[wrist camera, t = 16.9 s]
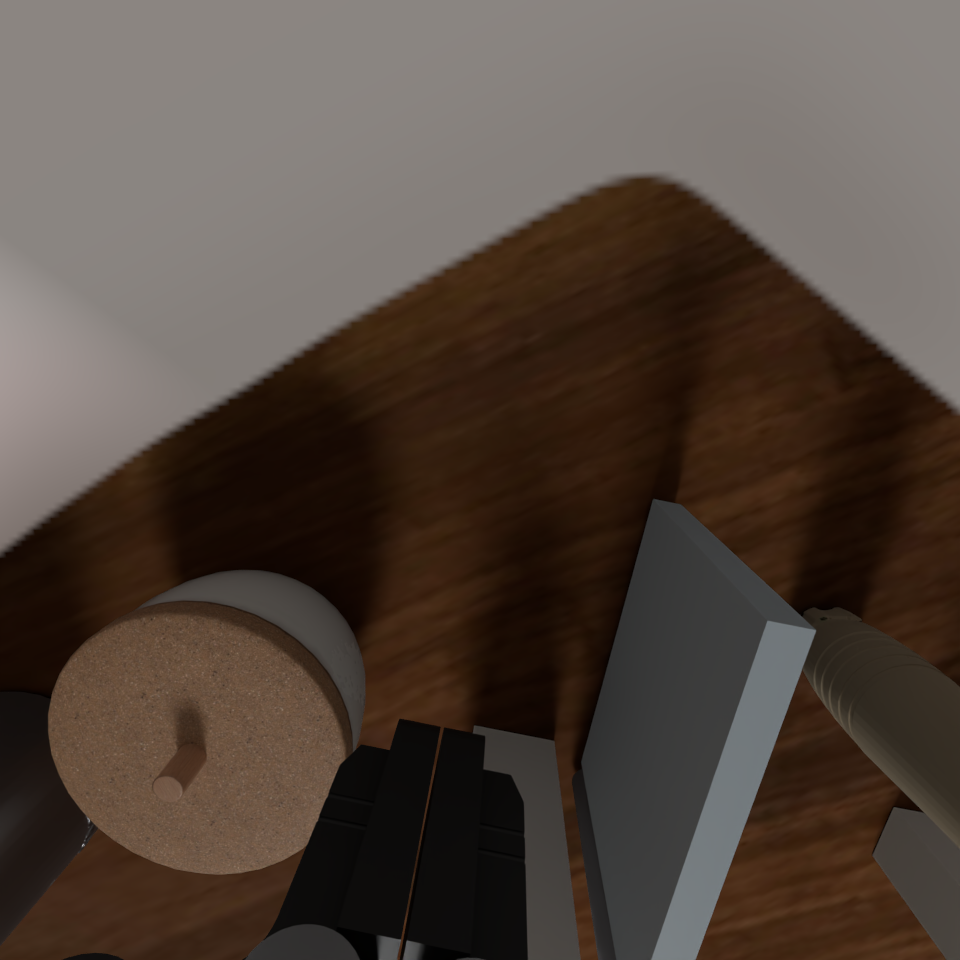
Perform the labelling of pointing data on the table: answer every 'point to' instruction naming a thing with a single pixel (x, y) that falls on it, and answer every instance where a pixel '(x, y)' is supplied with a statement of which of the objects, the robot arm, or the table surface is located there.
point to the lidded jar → (211, 721)
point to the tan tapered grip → (891, 709)
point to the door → (680, 737)
